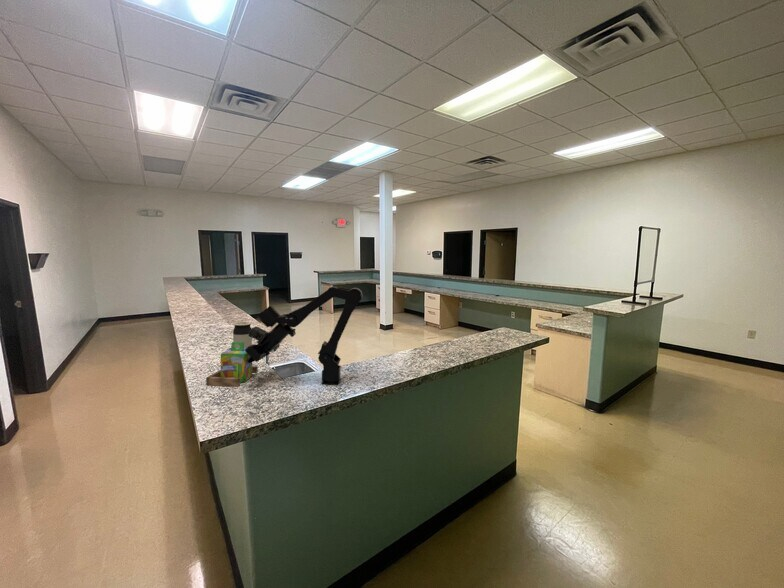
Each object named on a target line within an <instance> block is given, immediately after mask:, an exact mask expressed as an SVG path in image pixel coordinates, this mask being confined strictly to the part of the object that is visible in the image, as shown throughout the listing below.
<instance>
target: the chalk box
mask: <svg viewBox="0 0 784 588" xmlns="http://www.w3.org/2000/svg"><path fill="white" fill-rule="evenodd" d="M235 345H240V348H235ZM245 349H246V348H244V342H233V341H232V342H231V348H228V349H227V350H224V351H223V352H222V353H220V370H221V377H228V378H240V384H245V383H246V382H247V381H248V380H249V379H250V378H251V377H252V376H253V374H252V366H253V362H251V363H249V362H248V360H249V358H250V355H249V354H248V353H247V352H246V351H245Z"/></svg>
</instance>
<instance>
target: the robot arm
mask: <svg viewBox="0 0 784 588" xmlns="http://www.w3.org/2000/svg"><path fill="white" fill-rule="evenodd" d="M332 298H337V299H340V300H344V304H343V305H344V306H343V309H342V312H341V314H340V315H339V318H338V320H337V323H336V325H335V327H334V329H333V331H332V332H331V336H330V338H329V340H328V341H326V340H324V341H323V342H322V345H321V348H320V350H319V351H318V352H317V355H318V362H319V363H320V364H321V365H322V366H323V368H322V370H321V381H322V382H321V384H322V385H334V386H335V385H339V384H340V382H341V380H342V378H341V372H342V371H341V370H342V369H341V367H342V366H341V365H340V362H341V358H340V356H339V355H338V354H337V349H338V345H339V342H340V340H341V337H342V335H343V333H344V331H345V328H346V327H347V324H348V322H349V321H350V318H351V316H352V314H353V312H354V311H355V309H356V307H357V306H358V305H359V303H360V302H361V300H362V298H363V291H362V290H361V288H358V287H353V288H347V287H345V288H344V287H337V286H330V287H329V288H328V289H327V290H325V291H324V292H322V293H321V294H320V295H318V296H317V297H316V298H314V299H312V301H310V302H308V303H306V305H303V306H301V307H299V308H297V309H295V310H292V311H291V312H289V313H282V314H280V313H279V312H278V311H277V310H276V309H275V307H274V306H273V305H269V306H267V308H264V310H263V311H260V313H259V314H258V315H257V316H256V318H257V319H258V320H259V321H260V322H261V323H262V324H264V326H265V327H266V328H272V329H271V330H270V331H267V330H265V329H263V328H261V327H258V326H253V327H251V330H250V331H249V332H248V333H249V335H248V336H249V337H252V339H254V340H256V343H257V344H256V343H252V345H250V346H248V347H247V348H246V349H245V351H246V352H247V353H248V354H249V355H250V358H249V360H248V362H249V363H251V362H252V363H253V362H259V361H261V360H262V359H264V358H265V357H267V356H269V355H270V354H271V352H272V351H273V352H275V351H277V350H278V349H279V348H280V347H281V346H280V344H281V343H282V342H283V341H284V339H285V338H287V336H288V335H289V336H290V337H294V336H296V330H297V329H296V327H297V326H299V325H300V324H301V323H303V321H305V320H306V318H308V316H310V315H311V313H313V312H314V311H315V310H318V308H320V307H321V306H323V305H325V304H326V303H327V302H329V301H330V300H332Z"/></svg>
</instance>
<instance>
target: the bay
mask: <svg viewBox="0 0 784 588" xmlns="http://www.w3.org/2000/svg"><path fill="white" fill-rule="evenodd" d="M258 369H259V368H258V366H257V365H252V373H257V372H259V371H258ZM257 374H258V373H257ZM205 382H206V384H205V386H207V387H208V386H210V387H229V388H231V387H232V388H239V387H240V385H241V383H240V378H228V377H221V369H220V370H218V371H216V372H214V373H212V374H210V375H208V376H206V378H205Z"/></svg>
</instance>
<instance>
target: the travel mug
mask: <svg viewBox="0 0 784 588" xmlns="http://www.w3.org/2000/svg"><path fill="white" fill-rule="evenodd" d="M233 325H234V328H233V330H232V336H233V338H232V342H244V348H247V347H248V346H250V345H252V344H253V338H252V337H249V336H248V335H249V333H248V332H249V331H250V330H251V328H252V327H251V326H252V322H251V321H238V322H233ZM235 348H240V345H235Z"/></svg>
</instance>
